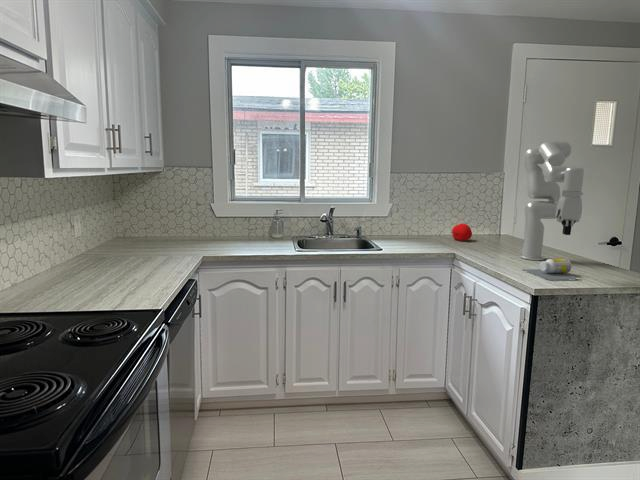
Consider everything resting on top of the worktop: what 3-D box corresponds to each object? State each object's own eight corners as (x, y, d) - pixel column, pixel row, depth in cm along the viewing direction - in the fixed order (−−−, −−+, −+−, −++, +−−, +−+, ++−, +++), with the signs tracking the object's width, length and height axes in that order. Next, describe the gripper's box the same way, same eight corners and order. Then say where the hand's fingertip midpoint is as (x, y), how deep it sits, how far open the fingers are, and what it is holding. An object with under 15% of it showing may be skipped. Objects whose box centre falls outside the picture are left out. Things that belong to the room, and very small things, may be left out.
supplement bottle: (560, 261, 212) (536, 262, 210) (569, 256, 206) (545, 257, 204) (564, 274, 209) (540, 275, 207) (574, 270, 203) (549, 270, 201)
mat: (522, 270, 213) (522, 269, 213) (552, 269, 216) (552, 268, 216) (549, 280, 194) (549, 279, 194) (581, 280, 196) (581, 279, 196)
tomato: (470, 246, 295) (456, 243, 307) (479, 230, 296) (465, 228, 308) (457, 236, 290) (444, 234, 302) (467, 220, 291) (453, 218, 303)
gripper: (580, 194, 204) (575, 232, 208) (550, 194, 202) (546, 233, 206) (592, 195, 197) (586, 235, 201) (562, 195, 195) (557, 236, 198)
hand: (566, 234), depth 203 cm, fingers closed
